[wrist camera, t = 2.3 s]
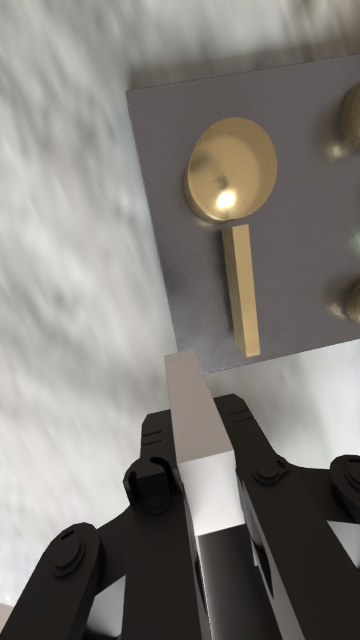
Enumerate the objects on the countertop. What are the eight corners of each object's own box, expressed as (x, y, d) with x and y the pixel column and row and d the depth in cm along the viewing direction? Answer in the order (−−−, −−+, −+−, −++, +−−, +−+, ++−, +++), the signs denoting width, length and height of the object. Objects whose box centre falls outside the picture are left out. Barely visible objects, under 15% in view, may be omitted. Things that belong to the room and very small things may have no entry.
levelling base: (127, 106, 19) (119, 53, 14) (406, 61, 21) (494, -2, 16) (182, 369, 27) (190, 400, 22) (385, 323, 28) (440, 341, 23)
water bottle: (178, 524, 34) (232, 1036, 12) (199, 467, 31) (316, 984, 9) (245, 529, 36) (397, 977, 14) (270, 474, 33) (505, 921, 11)
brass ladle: (176, 147, 19) (183, 125, 15) (251, 134, 19) (274, 110, 16) (209, 346, 24) (219, 363, 21) (267, 333, 24) (287, 348, 21)
